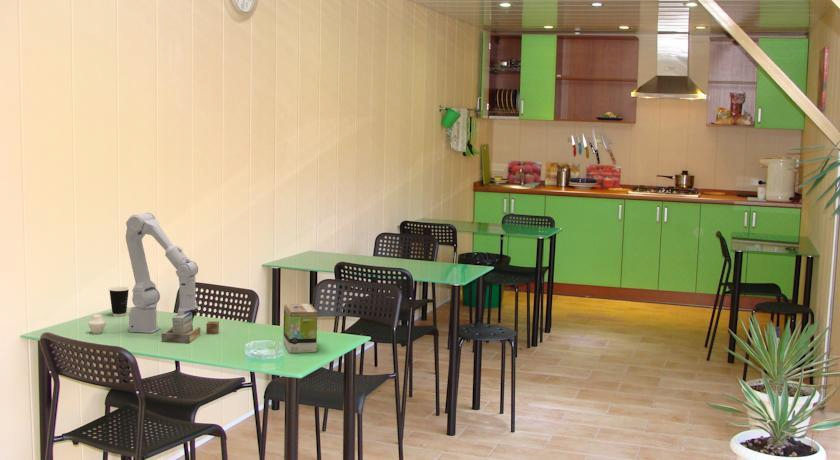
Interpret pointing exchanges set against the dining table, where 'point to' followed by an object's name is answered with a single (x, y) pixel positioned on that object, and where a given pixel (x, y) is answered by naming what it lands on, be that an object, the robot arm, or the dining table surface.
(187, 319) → the medicine box
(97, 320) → the cream lidded jar
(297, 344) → the tea box
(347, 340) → the dining table surface
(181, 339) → the dock bay
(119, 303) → the dixie cup
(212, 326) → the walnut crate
